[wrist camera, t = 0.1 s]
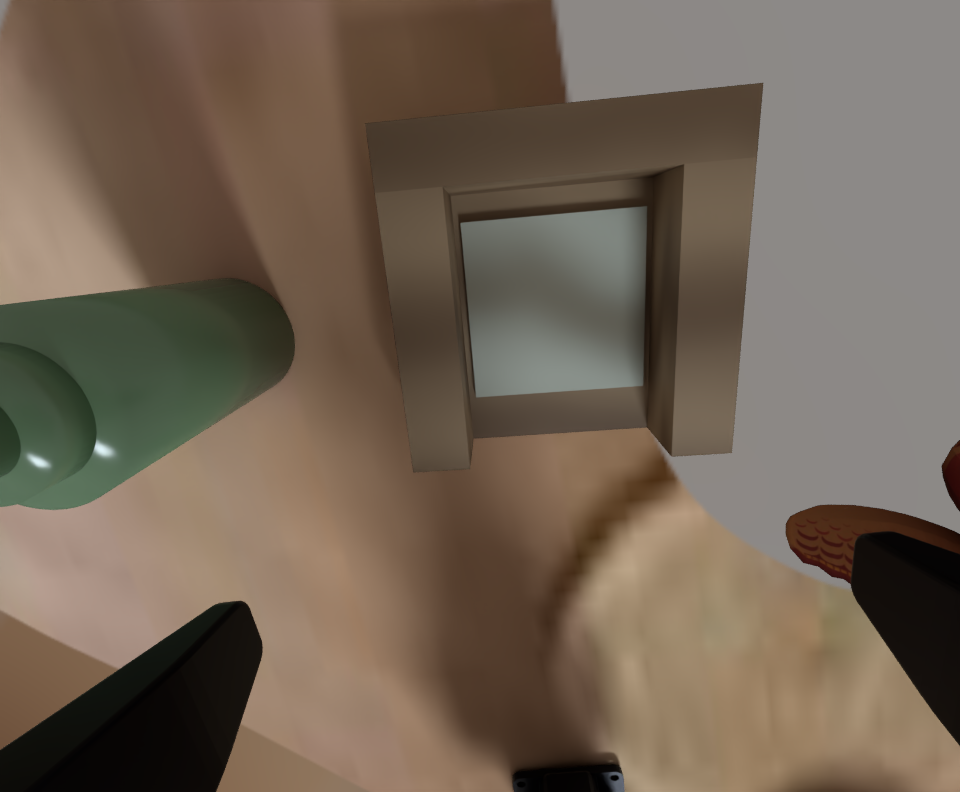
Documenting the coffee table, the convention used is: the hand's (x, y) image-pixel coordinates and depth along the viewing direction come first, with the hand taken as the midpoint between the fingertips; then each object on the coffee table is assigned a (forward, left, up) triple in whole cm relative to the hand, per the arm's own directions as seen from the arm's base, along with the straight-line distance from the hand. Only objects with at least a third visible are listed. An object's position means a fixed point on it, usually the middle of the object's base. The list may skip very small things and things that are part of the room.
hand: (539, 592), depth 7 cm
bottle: (+3, +12, -15) cm, 19 cm away
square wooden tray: (+3, -2, -15) cm, 15 cm away
